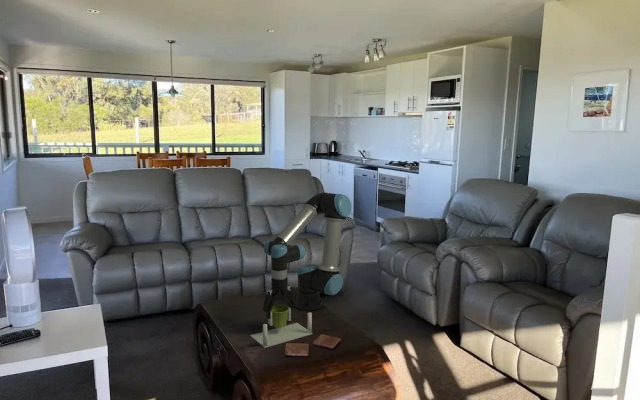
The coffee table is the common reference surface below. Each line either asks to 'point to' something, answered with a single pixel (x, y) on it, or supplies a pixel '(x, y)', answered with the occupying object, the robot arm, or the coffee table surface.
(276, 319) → the plant pot
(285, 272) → the robot arm
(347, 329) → the coffee table surface
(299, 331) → the mat
